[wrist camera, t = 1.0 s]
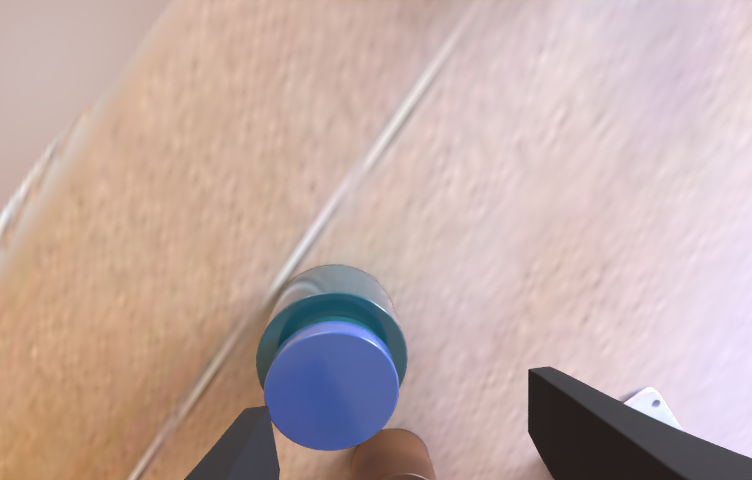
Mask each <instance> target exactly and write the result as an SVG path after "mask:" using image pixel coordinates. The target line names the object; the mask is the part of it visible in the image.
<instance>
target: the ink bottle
mask: <svg viewBox="0 0 752 480" xmlns="http://www.w3.org/2000/svg"><path fill="white" fill-rule="evenodd" d="M256 367H257V374H258V378H259V381H260V384H261V386H262V388H263V391H264V400H265V406H269V412H270V417H271V420H272V422H273V423H274V425H275V426H276V427H277V429H278V430H279V431H280V432H281V433H282V434H283V435H285V436H286V437H287V438H289V439H290V440H292V441H293V442H295V443H297V444H299V445H301V446H304V447H307V448H311V449H316V450H324V451H333V450H342V449H346V448H350V447H353V446H356V445H359V444H361V443H363V442H365V441H367V440H368V439H370V438H371V437H373V436H374V435H375V434H377V433H378V432H379V431H380V430H381V429H382V428H383V427H384V426H385V425H386V423H387V422H388V420H389V419H390V417H391V416H392V414H393V412H394V409H395V407H396V404H397V400H398V396H399V388H400V386H401V384H402V381H403V379H404V376H405V372H406V368H407V347H406V342H405V339H404V336H403V333H402V330H401V327H400V325H399V322H398V319H397V316H396V314H395V311H394V308H393V305H392V302H391V300H390V298H389V296H388V294H387V292H386V291H385V289H384V288H383V287H382V285H381V284H380V283H379V282H378V281H377V280H375V279H374V278H373V277H372V276H370V275H369V274H367V273H365V272H363V271H361V270H359V269H357V268H353V267H350V266H344V265H324V266H320V267H316V268H313V269H310V270H307V271H305V272H303V273H301V274H300V275H298V276H297V277H295V278H294V279H293V280H292V281H291V282H290V283H288V284H287V286H286V287H285V288H284V289H283V290H282V292H281V294H280V295H279V297H278V299H277V301H276V303H275V305H274V308H273V310H272V313H271V315H270V317H269V320H268V322H267V324H266V327H265V329H264V332H263V334H262V336H261V339H260V342H259V345H258V349H257V356H256Z"/></svg>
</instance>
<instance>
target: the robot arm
mask: <svg viewBox="0 0 752 480" xmlns="http://www.w3.org/2000/svg"><path fill="white" fill-rule="evenodd" d="M528 432H529V434H530V436H531V438H532V440H533V442H534V444H535V446H536V448H537V450H538V452H539V454H540V456H541V458H542V460H543V462H544V465H545V467H546V468H547V470H548V471H549V472H550V474H551V475H552V477H553V478H554V480H752V458H749V457H747V456H744V455H741V454H738V453H736V452H733V451H731V450H728V449H726V448H723V447H720V446H718V445H715V444H713V443H710V442H708V441H705V440H703V439H700V438H698V437H695V436H693V435H691V434H688V433H686V432H683V430H682V429H681V427H680V425H679V424H678V422H677V421H676V419H675V418H674V416H673V414H672V413H671V411H670V410H669V408H668V407H667V405H666V403H665V402H664V400H663V399H662V397H661V396H660V394H659V393H658V392H657V391H656V390H655V389H653V388H651V387H647V388H645V389H643V390H642V391H640V392H639V393H637V394H636V395H634V396H633V397H632V398H630V399H629V400H627V401H626V402H624V403H622V402H620V401H618V400H616V399H614V398H612V397H610V396H608V395H606V394H604V393H602V392H600V391H598V390H596V389H594V388H592V387H590V386H588V385H586V384H584V383H583V382H581V381H579V380H577V379H575V378H573V377H571V376H569V375H567V374H565V373H563V372H561V371H559V370H556V369H554V368H552V367H550V366H549V367H542V368H534V369H528ZM279 473H280V468H279V462H278V457H277V451H276V445H275V440H274V434H273V428H272V423H271V417H270V412H269V406H261V407H254V408H246V409H245V410H244V411H243V412H242V413H241V414H240V415H239V416H238V418H237V419H236V420H235V421H234V422H233V424H232V425H231V426H230V427H229V428H228V430H227V431H226V432H225V433H224V434H223V435H222V437H221V438H220V439H219V440H218V441H217V443H216V444H215V445H214V446H213V447H212V449H211V450H210V451H209V452H208V453H207V454H206V455H205V457H204V458H203V459H202V460H201V461H200V462H199V464H198V465H197V466H196V467H195V468H194V469H193V470H192V472H191V473H190V474H189V475H188V476H187V477H186V478H185V479H184V480H279Z"/></svg>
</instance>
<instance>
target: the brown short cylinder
mask: <svg viewBox="0 0 752 480" xmlns="http://www.w3.org/2000/svg"><path fill="white" fill-rule="evenodd" d="M351 475H352V480H436V476H435V473H434V470H433V466H432V463H431V460H430V456H429V453H428V450H427V448H426V446H425V444H424V443H423V441H422V440H421V439H420V438H419V437H417V436H416V435H415V434H413V433H411V432H409V431H406V430H402V429H386V430H381V431H379V432H378V433H377V434H375V435H374V436H373V437H371V438H370V439H368V440H367V441H365V442H363V443H361V444H359V446H358V447H357V448H356V450H355V452H354V454H353V457H352V461H351Z"/></svg>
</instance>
